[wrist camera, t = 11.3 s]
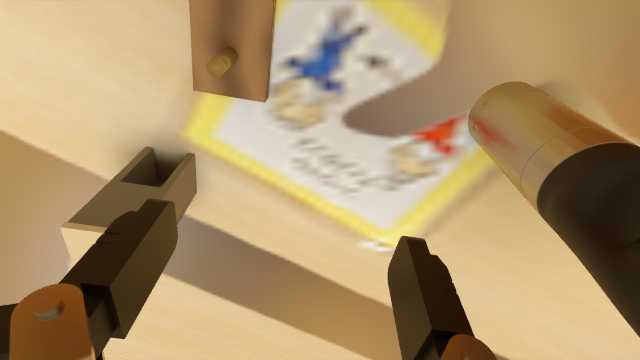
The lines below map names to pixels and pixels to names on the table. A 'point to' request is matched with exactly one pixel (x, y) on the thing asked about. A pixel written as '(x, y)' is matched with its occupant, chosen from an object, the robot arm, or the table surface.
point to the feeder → (129, 199)
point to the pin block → (232, 47)
